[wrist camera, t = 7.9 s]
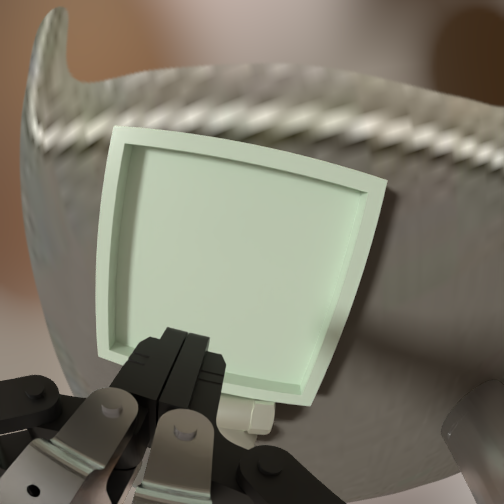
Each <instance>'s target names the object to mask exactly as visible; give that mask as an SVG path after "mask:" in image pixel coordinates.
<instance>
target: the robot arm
mask: <svg viewBox="0 0 504 504" xmlns="http://www.w3.org/2000/svg"><path fill="white" fill-rule="evenodd" d="M209 342H210V337H207V336H203V335H199V334H194V333H190V332H189V334H188V332H186V331H182V330H178V329H174V328H170V327H167V328H166V330H165V331H164V333H163V335H162V336H161V338H160V339H157V338H154V337H148V338H146V339H144V340H143V341H141V342H139V343H138V345H137V346H136V348H135V349H134V351H133V353H132V354H131V355H130V356H129V358H128V361H126V362H125V364H124V365H123V367H122V368H121V370H120V371H119V373H118V374H117V376H116V377H115V379H114V380H113V382H112V383H111V385H110V386H109V387H105V388H100V389H97V390H95V391H94V392H92V393H91V394H90V395H89V396H88V397H87V398H79V397H73V396H67V395H61V394H59V391H58V388H57V386H56V384H55V383H54V382H53V381H52V380H51V379H49V378H47V377H44V376H41V375H30V376H25V377H20V378H15V379H10V380H4V381H0V434H4V433H9V432H14V431H18V430H23V429H27V430H25V431H21V432H16V433H11V434H7V435H2V436H0V504H123V503H124V501H125V499H126V497H127V495H128V493H129V491H130V489H131V487H132V485H133V483H134V481H135V479H136V477H137V475H138V473H139V471H140V469H141V466H142V459H143V456H144V454H145V451H146V449H147V447H149V448H151V449H150V453H149V457H148V461H147V465H146V469H145V473H144V477H143V480H142V483H141V485H138V487H137V488H136V491H135V494H134V497H133V501H132V504H346V503H345V502H344V501H342V500H341V499H340V498H339V497H338V496H336V495H335V494H334V493H333V492H332V491H331V490H329V489H328V488H327V487H326V486H325V485H324V484H322V483H321V482H320V481H319V480H318V479H317V478H316V477H315V476H313V475H312V474H311V473H310V472H309V471H308V470H307V469H306V468H305V467H304V466H303V465H301V464H300V463H299V462H298V461H297V460H296V459H295V458H294V457H293V456H292V455H291V454H290V453H288V452H287V451H285V450H283V449H281V448H278V447H275V446H269V445H261V446H256V447H253V448H251V449H249V450H248V449H245V448H243V447H241V446H238V445H236V444H234V443H232V442H230V441H229V440H227V439H226V438H225V437H224V436H223V435H222V434H221V433H220V431H219V429H218V427H217V423H216V418H217V412H218V407H219V401H220V396H221V391H222V385H223V380H224V374H225V369H226V363H225V361H224V358H223V356H222V354H218V353H213V352H209V351H208V347H209ZM441 435H442V437H443V439H444V441H445V443H446V444H447V446H448V448H449V450H450V452H451V453H452V455H453V457H454V459H455V461H456V463H457V465H458V467H459V469H460V471H461V473H462V474H463V476H464V479H465V481H466V483H467V484H468V487H469V488H470V490H471V492H472V495H473V497H474V499H475V501H476V503H477V504H504V385H503V384H502V383H501V382H500V381H498V380H490V381H487V382H485V383H483V384H481V385H479V386H478V387H476V388H475V389H473V390H472V391H471V392H469V393H468V394H467V395H466V396H465V397H464V398H463V399H461V400H460V401H459V402H458V403H457V405H456V406H455V407H454V408H453V409H452V410H451V412H450V413H449V414H448V416H447V417H446V419H445V420H444V423H443V425H442V428H441Z"/></svg>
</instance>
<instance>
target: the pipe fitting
mask: <svg viewBox="0 0 504 504" xmlns="http://www.w3.org/2000/svg"><path fill="white" fill-rule="evenodd" d="M274 416H275V402H272V401H265V400H259V399H253V398H247V397H242V396H237V395H231V394H227V393H222V392H221V396H220V401H219V407H218V412H217V418H216V423H217V427H218V429H219V431H220V433H221V434H222V435H223V436H224V437H225V438H226V439H227V440H229V441H230V442H232V443H234V444H236V445H238V446H241V447H243V448H245V449H248V450H249V449H251V448H253V447H254V445H255V442H256V439H257V434H261V435H266V434H268V433H270V432H271V429H272V426H273V422H274Z"/></svg>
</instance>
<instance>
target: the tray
mask: <svg viewBox="0 0 504 504" xmlns="http://www.w3.org/2000/svg"><path fill="white" fill-rule="evenodd" d="M386 185H387V180H385V179H382V178H379V177H375V176H372V175H369V174H366V173H363V172H360V171H356V170H353V169H350V168H346V167H343V166H339V165H336V164H332V163H329V162H325V161H321V160H318V159H314V158H310V157H306V156H302V155H298V154H294V153H290V152H285V151H281V150H277V149H272V148H267V147H263V146H258V145H253V144H248V143H243V142H238V141H232V140H227V139H221V138H215V137H209V136H203V135H196V134H189V133H182V132H174V131H166V130H157V129H148V128H138V127H126V126H114V128H113V132H112V137H111V142H110V147H109V153H108V158H107V164H106V170H105V176H104V183H103V190H102V198H101V207H100V216H99V227H98V240H97V257H96V330H97V347H98V356H99V357H101V358H104V359H107V360H110V361H112V362H115V363H118V364H121V365H124V364H125V362H126V361H128V358H129V356H130V355H131V354H132V353H133V351H134V349H135V348H136V346H137V345H138V343H139V342H141V341H143V340H144V339H146V338H148V337H154V338H157V339H160V338H161V336H162V335H163V333H164V331H165V330H166V328H167V327H170V328H174V329H178V330H182V331H186V332H188V334H189V332H190V333H194V334H199V335H203V336H207V337H210V342H209V347H208V351H209V352H213V353H218V354H222V356H223V358H224V361H225V363H226V369H225V374H224V380H223V385H222V391H221V392H222V393H227V394H231V395H237V396H242V397H247V398H253V399H259V400H265V401H272V402H279V403H286V404H294V405H303V406H311V404H312V402H313V400H314V398H315V395H316V393H317V391H318V389H319V387H320V384H321V382H322V380H323V378H324V375H325V373H326V371H327V368H328V366H329V364H330V361H331V359H332V356H333V354H334V351H335V349H336V346H337V344H338V341H339V339H340V336H341V334H342V331H343V328H344V326H345V323H346V320H347V318H348V315H349V312H350V309H351V307H352V304H353V301H354V298H355V295H356V292H357V289H358V286H359V283H360V280H361V277H362V274H363V271H364V267H365V264H366V261H367V257H368V254H369V251H370V247H371V244H372V240H373V237H374V233H375V229H376V226H377V222H378V218H379V214H380V210H381V206H382V202H383V198H384V193H385V189H386Z"/></svg>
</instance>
